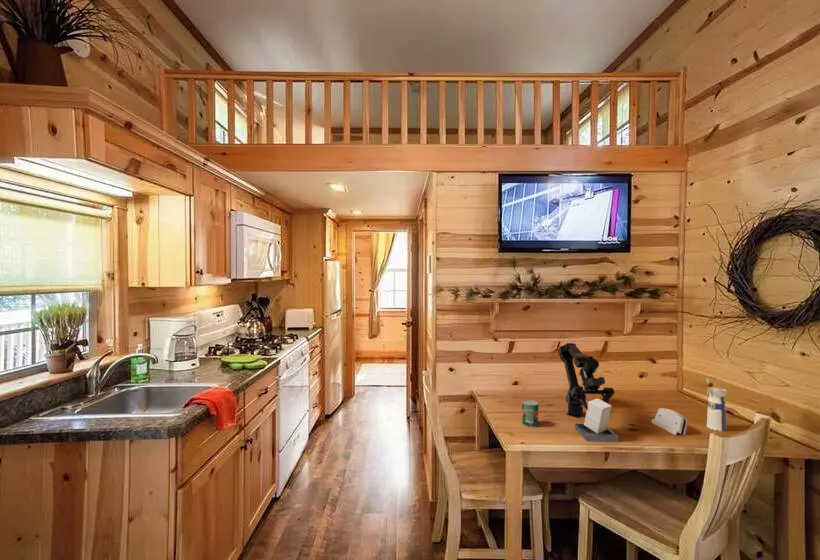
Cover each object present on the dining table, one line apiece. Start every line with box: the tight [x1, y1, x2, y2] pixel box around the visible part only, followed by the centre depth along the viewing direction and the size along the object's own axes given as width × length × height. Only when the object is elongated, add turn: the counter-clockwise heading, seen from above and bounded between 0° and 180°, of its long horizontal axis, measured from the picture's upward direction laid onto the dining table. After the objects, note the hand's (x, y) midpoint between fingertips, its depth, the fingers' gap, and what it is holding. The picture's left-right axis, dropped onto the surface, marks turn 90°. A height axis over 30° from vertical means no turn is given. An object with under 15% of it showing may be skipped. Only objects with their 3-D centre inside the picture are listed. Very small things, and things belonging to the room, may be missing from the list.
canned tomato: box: [521, 399, 540, 428], centre depth 193 cm, size 8×8×11 cm
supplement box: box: [583, 397, 613, 433], centre depth 179 cm, size 7×7×13 cm
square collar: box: [574, 423, 620, 443], centre depth 180 cm, size 14×14×3 cm
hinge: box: [651, 407, 689, 436], centre depth 189 cm, size 17×5×10 cm, turn 5°
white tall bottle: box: [705, 377, 730, 432], centre depth 189 cm, size 8×9×25 cm
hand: (597, 409), depth 179 cm, fingers closed on supplement box, 9 cm apart
